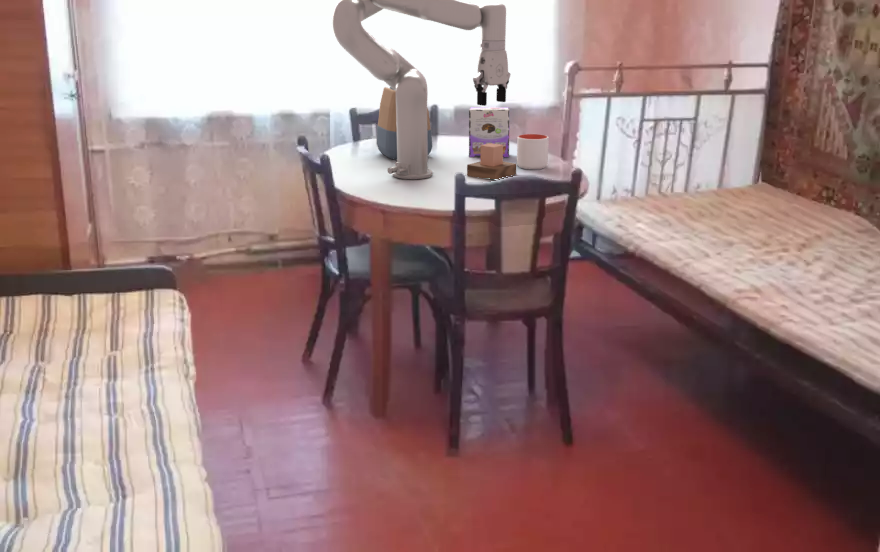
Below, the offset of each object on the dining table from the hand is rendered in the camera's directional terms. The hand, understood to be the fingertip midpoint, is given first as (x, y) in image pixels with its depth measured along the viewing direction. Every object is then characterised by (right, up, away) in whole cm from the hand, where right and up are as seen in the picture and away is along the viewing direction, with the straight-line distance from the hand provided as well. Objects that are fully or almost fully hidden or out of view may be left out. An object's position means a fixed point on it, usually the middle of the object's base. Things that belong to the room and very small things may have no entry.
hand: (491, 103), depth 290 cm
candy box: (+1, -12, +36) cm, 38 cm away
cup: (+14, -18, +18) cm, 29 cm away
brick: (0, -18, +6) cm, 19 cm away
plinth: (0, -21, +7) cm, 22 cm away
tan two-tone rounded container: (-28, -12, +37) cm, 48 cm away
